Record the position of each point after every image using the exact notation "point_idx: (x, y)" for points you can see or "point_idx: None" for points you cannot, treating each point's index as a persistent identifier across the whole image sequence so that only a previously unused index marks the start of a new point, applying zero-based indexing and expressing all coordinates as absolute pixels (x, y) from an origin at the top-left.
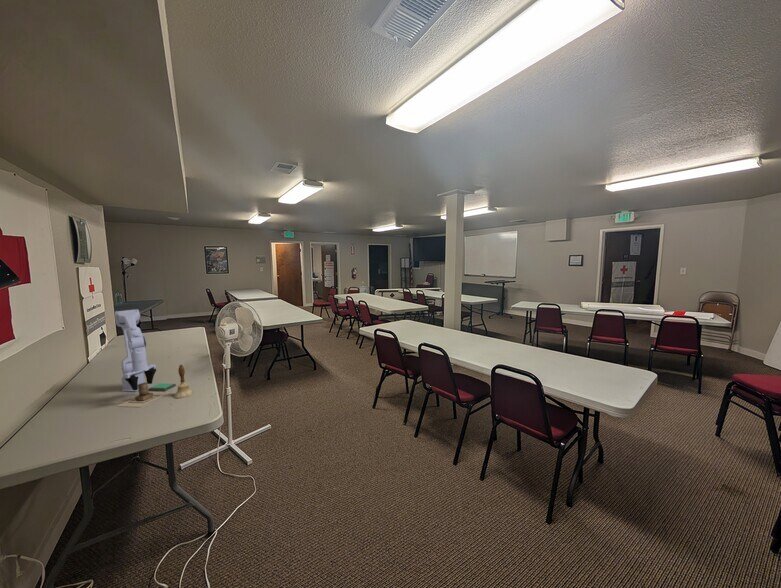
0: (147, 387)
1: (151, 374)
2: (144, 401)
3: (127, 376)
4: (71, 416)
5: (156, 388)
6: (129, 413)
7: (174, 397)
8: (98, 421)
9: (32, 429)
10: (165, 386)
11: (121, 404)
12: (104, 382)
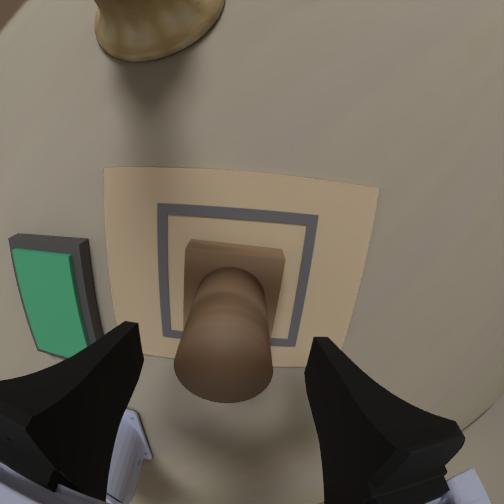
0: (205, 304)
1: (76, 395)
2: (284, 235)
3: (480, 490)
4: None
5: (84, 319)
6: (450, 188)
7: (211, 26)
8: (486, 285)
9: None
10: (50, 269)
11: None
12: None
